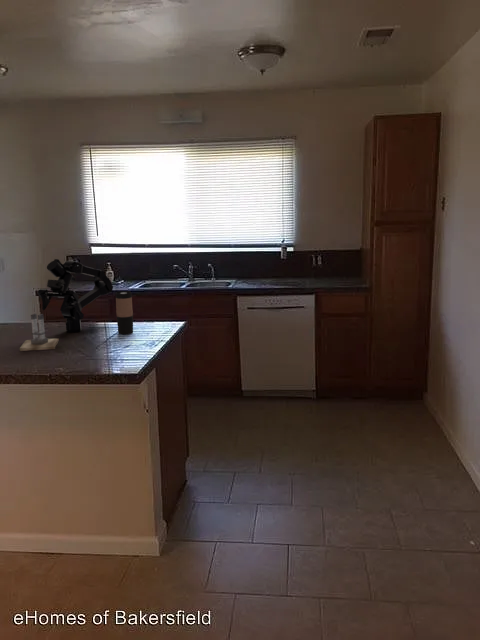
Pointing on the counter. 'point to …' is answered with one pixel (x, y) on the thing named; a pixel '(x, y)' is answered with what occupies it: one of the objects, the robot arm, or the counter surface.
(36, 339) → the two-prong grey stand
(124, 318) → the travel mug
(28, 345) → the plate
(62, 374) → the counter surface
